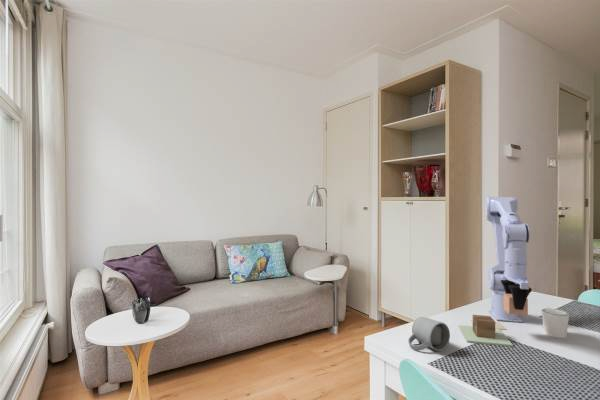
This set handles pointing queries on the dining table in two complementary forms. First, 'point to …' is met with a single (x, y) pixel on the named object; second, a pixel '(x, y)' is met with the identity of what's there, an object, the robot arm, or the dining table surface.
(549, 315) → the white cup
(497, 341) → the plate
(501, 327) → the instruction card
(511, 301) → the terracotta block
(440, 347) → the ceramic mug
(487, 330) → the walnut block
